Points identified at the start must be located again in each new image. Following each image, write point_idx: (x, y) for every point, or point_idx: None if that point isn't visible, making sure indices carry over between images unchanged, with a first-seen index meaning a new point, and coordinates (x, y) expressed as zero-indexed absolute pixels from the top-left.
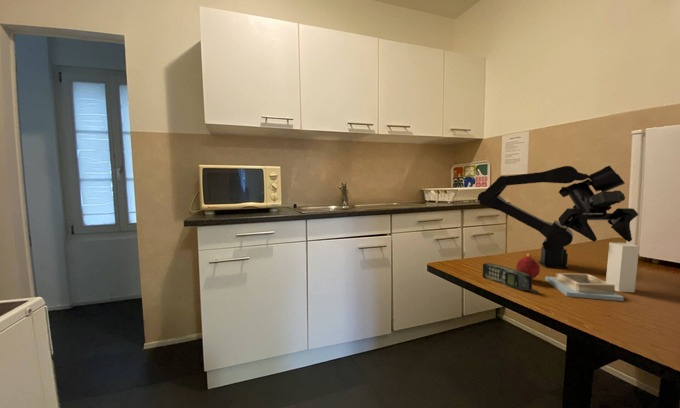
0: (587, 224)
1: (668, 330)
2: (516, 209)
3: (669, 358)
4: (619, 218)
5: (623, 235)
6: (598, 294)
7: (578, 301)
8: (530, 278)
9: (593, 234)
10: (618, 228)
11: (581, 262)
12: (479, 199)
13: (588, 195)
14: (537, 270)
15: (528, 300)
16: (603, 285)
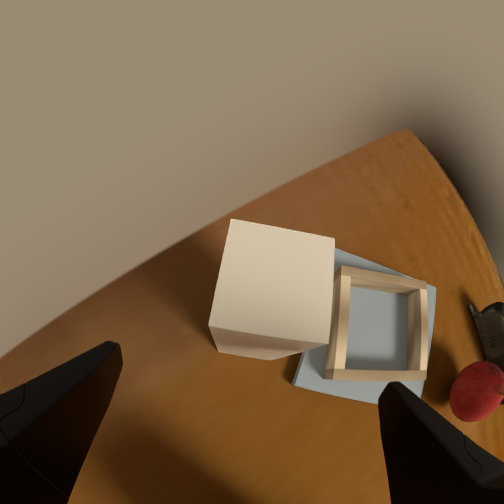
0: (477, 466)
1: (353, 156)
2: None
3: (401, 132)
4: None
5: (94, 413)
6: (380, 269)
7: (422, 263)
8: (498, 304)
9: (418, 406)
10: (53, 481)
11: None
12: None
13: None
14: (474, 365)
15: (485, 275)
16: (371, 271)
